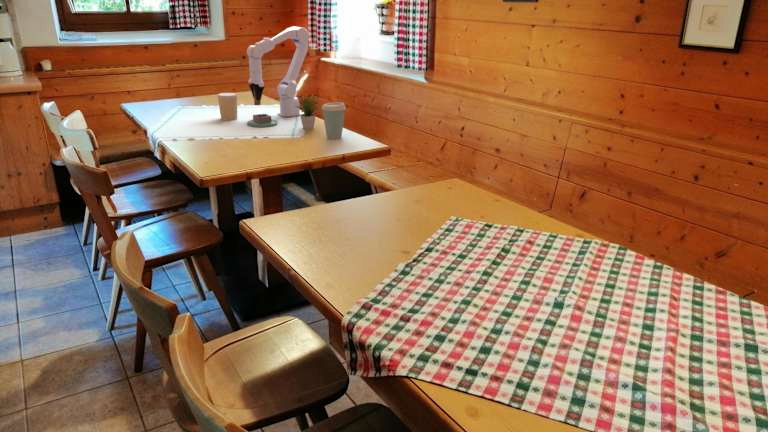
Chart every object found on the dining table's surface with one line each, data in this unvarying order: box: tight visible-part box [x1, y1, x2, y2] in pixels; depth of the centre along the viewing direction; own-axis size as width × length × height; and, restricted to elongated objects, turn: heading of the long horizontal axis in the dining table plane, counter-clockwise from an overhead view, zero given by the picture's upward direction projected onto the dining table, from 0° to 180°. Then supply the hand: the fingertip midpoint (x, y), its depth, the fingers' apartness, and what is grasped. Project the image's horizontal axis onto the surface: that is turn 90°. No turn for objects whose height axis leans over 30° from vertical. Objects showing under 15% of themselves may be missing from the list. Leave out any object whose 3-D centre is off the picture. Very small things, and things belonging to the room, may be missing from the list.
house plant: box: [295, 94, 323, 131], centre depth 260 cm, size 14×14×16 cm
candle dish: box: [247, 113, 278, 128], centre depth 269 cm, size 14×14×4 cm
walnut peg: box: [253, 92, 261, 106], centre depth 276 cm, size 3×3×8 cm
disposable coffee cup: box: [321, 101, 347, 140], centre depth 247 cm, size 11×11×15 cm
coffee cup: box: [217, 92, 238, 121], centre depth 276 cm, size 9×9×12 cm
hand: (257, 99), depth 277 cm, fingers closed on walnut peg, 3 cm apart
